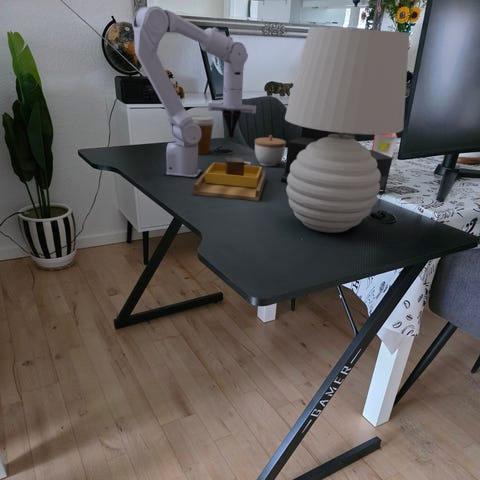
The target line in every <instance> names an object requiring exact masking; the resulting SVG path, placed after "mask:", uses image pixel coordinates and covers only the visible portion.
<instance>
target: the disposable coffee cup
mask: <svg viewBox="0 0 480 480" xmlns="http://www.w3.org/2000/svg"><path fill="white" fill-rule="evenodd" d="M190 116H191V118H192V120H193V121H194V122H195V123H196V124H197V125H198V126H199V127H200V129H201V133H202V134H201V139H200V141H199V142H198V155H208V154H210V149H211V143H212V134H213V126H214V123H215V121H214V118H213V116H208V115H200V114H199V115H198V114H197V115H196V114H195V115H190Z"/></svg>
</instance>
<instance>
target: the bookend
mask: <svg viewBox="0 0 480 480" xmlns="http://www.w3.org/2000/svg"><path fill="white" fill-rule="evenodd" d="M330 134H339V132H330V131H323V130H317V129H311V128H307V127H302V126H301V133H300V136H299V137H296V138H294V139H291V140H289V141H288V142H287V149H286V157H285V169H284V173H283V174H282V176H281V178H280V179H281V180H280V181H281V182H285V183H287V177H288V174H289V173H290V166H291V164H292V162H293V161H294V160H296V159H297V155H298V154H299V152H300V151H302V150H304V149H306V147H307V146H308V145H309V144H310V143H312V142H316V141H318V140H319V139H321V138H325V137H328V135H330ZM343 135H346V133H343Z"/></svg>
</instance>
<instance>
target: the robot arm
mask: <svg viewBox="0 0 480 480" xmlns="http://www.w3.org/2000/svg"><path fill="white" fill-rule="evenodd" d="M131 26H132V29H133V38H134V39H133V41H134V42H133V43H134V54H135V56H136V59H138V62H139V64H140V65H141V67H142V69H143V71H144V73H145V75H146V76H147V78H148V80H149V82H150V84H151V86H152V88H153V89H154V92H155V93H156V95H157V97H158V98H159V101H160V102H161V104H162V106H163V108H164V110H165V112H166V114H167V115H168V122H169V124H170V130H171V134H172V135H173V137H174V142H168V143H167V145H166V150H165V152H166V153H165V154H166V155H165V156H166V157H165V159H166V175H168V176H177V177H186V178H187V177H188V178H197V177H198V176H199V175H200V174H201V172H202V169H199V154H198V142H199V141H200V139H201V134H202V133H201V129H200V127H199V126H198V125H197V124H196V123H195V122H194V121H193V120H192V118H191V116H192V115H190V113H189V112H188V111H187V109H185V107H184V105H183V102H182V101H181V98H180V97H179V95H178V92H177V91H176V89H175V87H174V85H173V83H172V81H171V79H170V76H169V75H168V73H167V71H166V70H165V67H164V66H163V63H162V61H161V60H160V58H159V55H158V49H159V45H160V42H161V40H162V38H163V37H164V35H165V34H166V33H173V32H175V33H178V34H180V35H182V36H184V37H186V38H189V39H191V40H192V41H195V42H197V43H199V45H200V48H201V50H202V51H203V52H206V53H207V54H210V55H212V56H213V57H215V58H218V59H220V60H222V62H223V86H222V87H223V90H222V92H223V93H222V95H223V96H222V102H208V105H207V106H208V108H207V110H208V112H212V111H213V112H222V116H223V118H224V121H225V123H226V127H227V131H228V138H234V137H235V132H236V131H235V130H236V127H237V124H238V122H239V119H240V117H241V115H242V113H245V114H246V113H248V114H257V105H250V104H243V88H244V87H243V85H244V70H245V69H244V68H245V64H246V62H247V60H248V58H249V53H248V51H247V48H246V47H245V45H244V43H242V42H240V41H234V39H233V37H232V36H231V35H228V36H227V35H225V34H223V33H221V32H219V29H218V28H217V27H207V28H206V29H203V28H201V27H199V26H197V25H196V24H194V23H192V22H190V21H189V20H187V19H186V18H184V17H182V16H180V15H178V14H177V13H175V12H173V11H170V10H168V9H163V8H162V7H160V6H158V5H152V6H141V7H139V8H138V9H137V10H136V12H135V14H134V17H133V21H132V24H131Z"/></svg>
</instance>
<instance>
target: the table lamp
mask: <svg viewBox="0 0 480 480" xmlns="http://www.w3.org/2000/svg"><path fill="white" fill-rule="evenodd" d="M409 41H410V32H403V31H394V30H393V31H392V30H378V29H364V28H363V29H361V28H347V27H346V28H345V27H330V26H329V27H327V26H309V27H308V31H307V35H306V38H305V41H304V45H303V49H302V52H301V57H300V61H299V64H298V67H297V71H296V75H295V78H294V82H293V86H292V89H291V94H290V97H289V100H288V105H287V108H286V112H285V115H284V120H285V121H286V122H288V123H289V124H293V125H295V126H299V127H301V128H302V127H307V128H311V129H317V130H323V131H330V132H339V134H330V135H328V137H325V138H321V139H319V140H318V141H316V142H312V143H310V144H309V145H308V146H307V147H306V149H304V150H302V151H300V152H299V154H298V155H297V159H296V160H294V161H293V162H292V164H291V166H290V173H289V174H288V177H287V182H286V183H287V185H286V190H285V191H286V195H287V197H288V205H289V207H290V208H291V209H292V210H293V211H292V212H293V214H294V216H295V217H296V218H297V219H298V220H299V221H300V222H301V223H302V224H303V225H304V226H305V227H307V228H309V229H311V230H314V231H317V232H320V233H329V234H330V233H333V234H336V233H337V234H338V233H343V232H346V231H348V230H350V229H352V228H354V227H356V226H358V225H360V224H361V223H362V222H363V219H365V218H367V217H368V216H369V215H370V213H371V212H372V208H373V207H374V206H375V205H376V203H377V201H378V195H379V194H378V193H379V190H380V184H379V181H380V177H381V174H380V171H379V169H377V161H376V159H374V158H373V157H372V156H371V153H370V151H369V150H370V149H368V148H367V147H366V146H363V144H362V143H361V142H359V141H358V140H355V139H354V137H353V136H351V135H353V134H354V135H375V134H393V133H396V134H398V133H401V132H402V131H404V128H405V127H404V125H405V110H406V109H405V108H406V92H407V76H408V59H409V44H410V43H409ZM343 133H345V135H343ZM348 134H351V135H348Z"/></svg>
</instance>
